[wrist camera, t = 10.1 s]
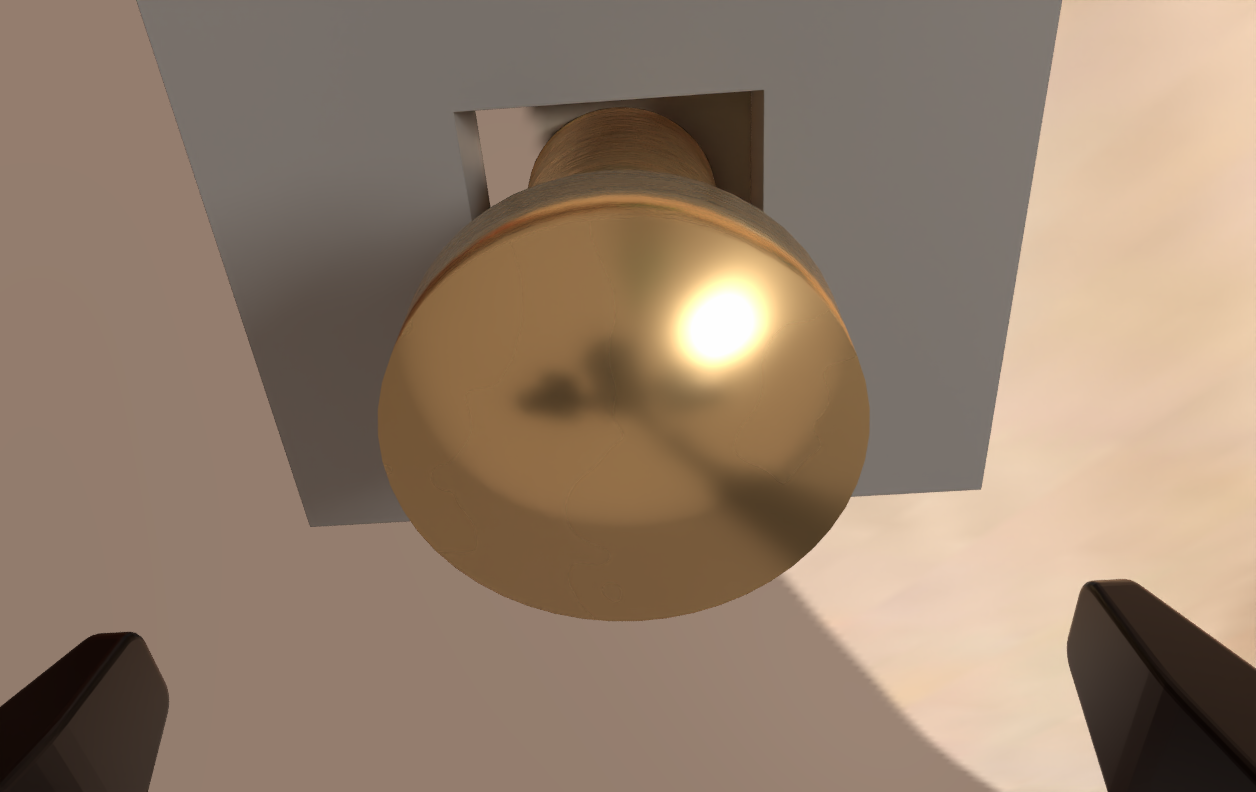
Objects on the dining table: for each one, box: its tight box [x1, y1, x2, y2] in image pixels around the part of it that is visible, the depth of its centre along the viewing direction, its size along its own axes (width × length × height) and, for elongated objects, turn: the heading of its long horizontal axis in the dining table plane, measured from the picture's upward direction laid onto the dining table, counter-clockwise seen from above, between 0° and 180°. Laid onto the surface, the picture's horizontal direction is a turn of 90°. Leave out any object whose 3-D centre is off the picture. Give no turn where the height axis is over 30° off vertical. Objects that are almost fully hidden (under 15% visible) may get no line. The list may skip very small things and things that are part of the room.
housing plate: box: [136, 0, 1062, 527], centre depth 18 cm, size 12×14×2 cm
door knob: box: [378, 107, 870, 621], centre depth 15 cm, size 6×6×8 cm
